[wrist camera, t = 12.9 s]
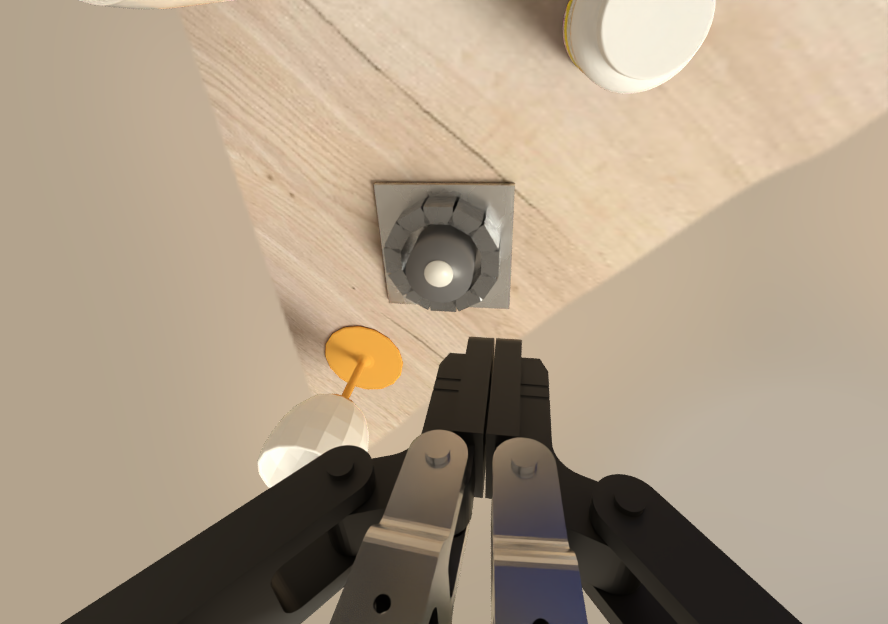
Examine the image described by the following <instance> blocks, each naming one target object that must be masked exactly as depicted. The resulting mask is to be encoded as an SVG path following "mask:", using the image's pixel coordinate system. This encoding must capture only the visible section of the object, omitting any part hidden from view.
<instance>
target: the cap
mask: <svg viewBox="0 0 888 624" xmlns="http://www.w3.org/2000/svg"><path fill="white" fill-rule="evenodd" d="M476 253H477V251H476V245H475V243H474V242H473V240H472V238H471V237H470V236H469V235H467V234H466V233H464V232H462V231H460V230H459V229H457V228H455V227H453V226H451V225H437V224H431V225H429V226H428V227H426V228H425V229H424V230H423V231H422V232H421V233H420V235H419V236H418V239H417V241H416V243H415V245H414V247H413V249H412V251H411V254H410V256H409V258H408V260H407V263H406V277H407V280H408V283H409V285H410V286H411V288H412V289H413V290H414V291H415V292H416V293H417V294H418V295H419V296H421V297H423V298H424V299H427V300H429V301H433V302H439V303H444V302H450V301H454V300H456V299H458V298H460V297H461V296H463V295H464V294H465V293H466V291H467V290H468V289H469V287H470V285H471V282H472V278H473V272H474V266H475V260H476Z"/></svg>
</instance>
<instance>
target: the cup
mask: <svg viewBox="0 0 888 624" xmlns="http://www.w3.org/2000/svg"><path fill="white" fill-rule="evenodd" d="M325 356H326V359H327V361H328V363H329V366H330V368H331V369H332V370H333V371H334V372H335V373H336V374H337V375H338V376H339V377H340V378H341V379H342V380H344V381H346V382H348V383H347V385H346V387H345V389H344V391H343V393H342V395H338V394H317V395H315V396H313V397H311V398H309V399H307V400H305V401H303V402H301V403H300V404H298V405H296V406H295V407H294V408H293V409H292V410H290V412H288V413H287V414H286V415H285V416H284V417H283V418H282V419H281V421H280V422H279V423H278V425H277V426H276V427H275V429H274V430H273V431H272V433H271V434H270V436H269V437H268V439H267V440H266V442H265V444H264V446H263V448H262V451H261V453H260V456H259V458H258V460H257V461H258V471H259V472H258V473H259V474H260V476H261V478H262V479H263V480H264V482H265V484H266V485H267V486H268V487H269V488H271V487H272V486H274V485H275V484H277V483H279V482H280V481H282V480H283V479H285V478H286V477H288V476H289V475H291V474H292V473H294V472H296V471H297V470H299V469H300V468H302V467H303V466H305V465H306V464H308V463H309V462H311V461H313V460H314V459H316V458H317V457H319V456H320V455H322V454H323V453H325V452H327V451H328V450H330V449H332V448H335V447H338V446H344V445H353V446H357V447H360V448H362V449H364V450H365V451H367V452H368V442H369V432H368V426H367V421H366V419H365V416H364V414H363V412H362V411H361V410H360V409H359V408H358V407H357V406H356V404H355V403H354V402H353V401H352V400H350V399H349V397H350V395H351V393H352V391H353V389H354V387H355V386H356V387H360V388H364V389H382V388H385V387H387V386H389V385H392V384H393V383H394V382H395V381H396V380H397V379H398V378H399V376H400V375H401V371H402V365H403V361H402V358H401V355H400V352H399V350H398V349H397V347H396V346H395V345H394V344H393V343H392V341H391V340H390V339H389V338H387V337H386V336H384V335H382V334H381V333H379V332H378V331H376V330H373V329H369V328H365V327H361V326H354V327H344V328H342V329H340V330H338V331H336V332H335V333H333V334H332V335H331V337H330V338H329V340H328V341H327V343H326V351H325Z"/></svg>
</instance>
